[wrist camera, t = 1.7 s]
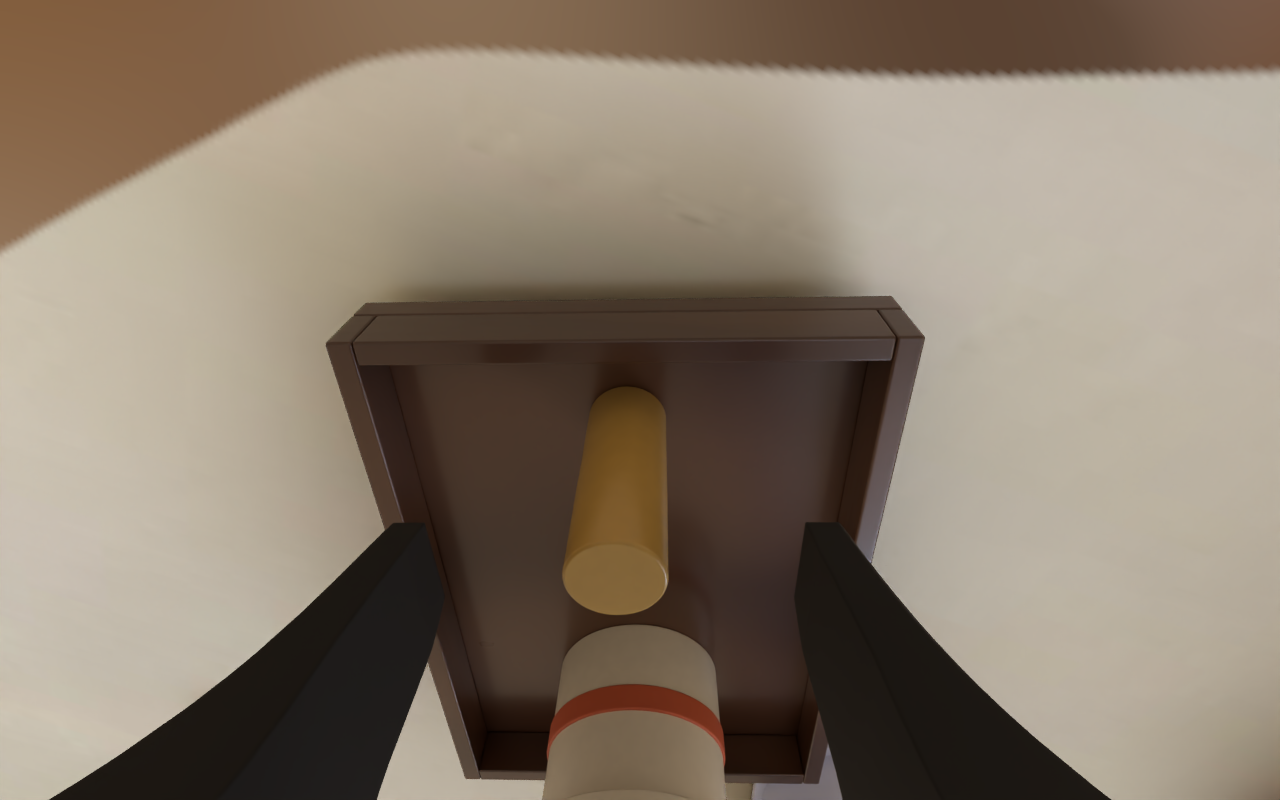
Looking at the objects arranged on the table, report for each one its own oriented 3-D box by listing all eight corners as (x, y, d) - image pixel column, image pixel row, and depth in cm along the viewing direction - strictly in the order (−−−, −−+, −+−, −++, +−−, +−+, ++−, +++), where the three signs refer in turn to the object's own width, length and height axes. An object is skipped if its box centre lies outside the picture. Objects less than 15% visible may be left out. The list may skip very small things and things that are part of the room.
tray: (806, 723, 25) (847, 921, 19) (480, 720, 25) (431, 911, 20) (892, 294, 15) (1019, 449, 10) (365, 301, 16) (212, 452, 10)
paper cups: (721, 725, 23) (738, 914, 19) (560, 723, 24) (534, 910, 19) (730, 617, 20) (752, 811, 15) (542, 616, 20) (506, 807, 16)
